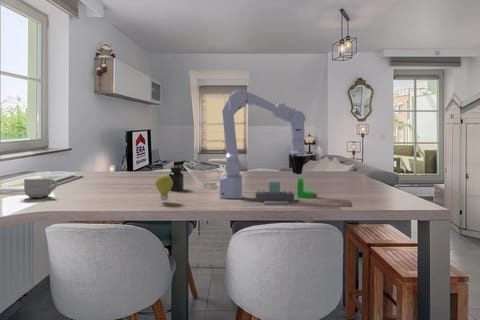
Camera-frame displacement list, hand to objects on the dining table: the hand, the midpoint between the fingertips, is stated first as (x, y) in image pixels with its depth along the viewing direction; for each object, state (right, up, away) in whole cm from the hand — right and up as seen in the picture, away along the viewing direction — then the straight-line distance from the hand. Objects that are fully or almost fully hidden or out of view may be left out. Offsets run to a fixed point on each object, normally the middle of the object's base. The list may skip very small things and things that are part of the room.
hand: (297, 173), depth 162 cm
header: (-10, -10, -9) cm, 17 cm away
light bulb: (-53, -10, -8) cm, 55 cm away
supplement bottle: (-53, -10, +22) cm, 58 cm away
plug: (-10, -10, -9) cm, 17 cm away
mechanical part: (+5, -10, +7) cm, 13 cm away
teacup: (-107, -10, +3) cm, 107 cm away
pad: (-10, -10, -17) cm, 22 cm away
